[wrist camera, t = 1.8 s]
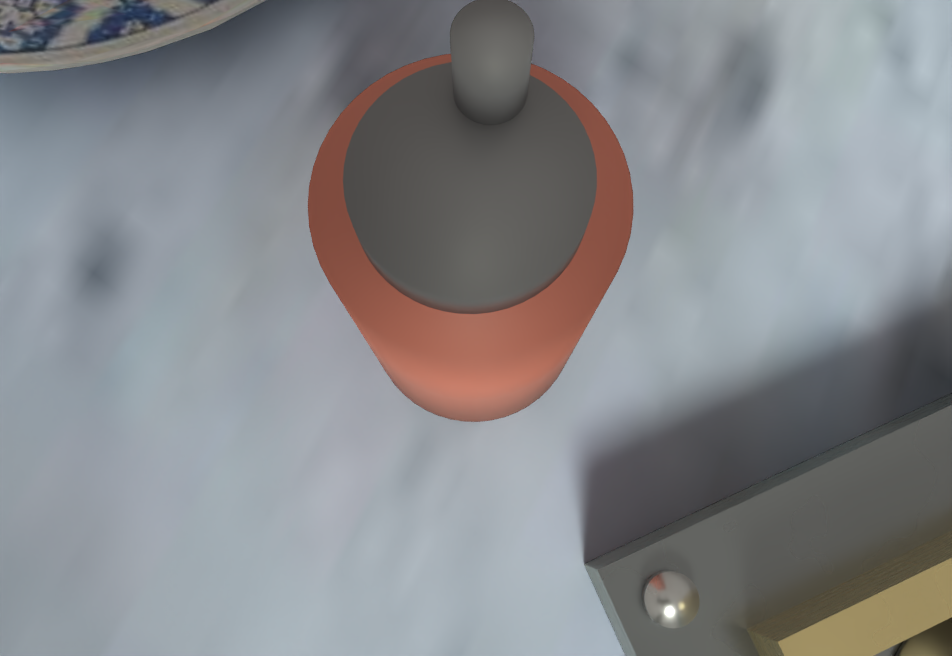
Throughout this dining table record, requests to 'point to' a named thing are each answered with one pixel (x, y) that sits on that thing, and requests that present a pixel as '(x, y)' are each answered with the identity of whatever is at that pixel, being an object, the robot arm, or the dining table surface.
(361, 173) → the sippy cup
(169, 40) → the ceramic plate
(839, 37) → the dining table surface
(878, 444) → the square socket fixture
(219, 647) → the dining table surface
